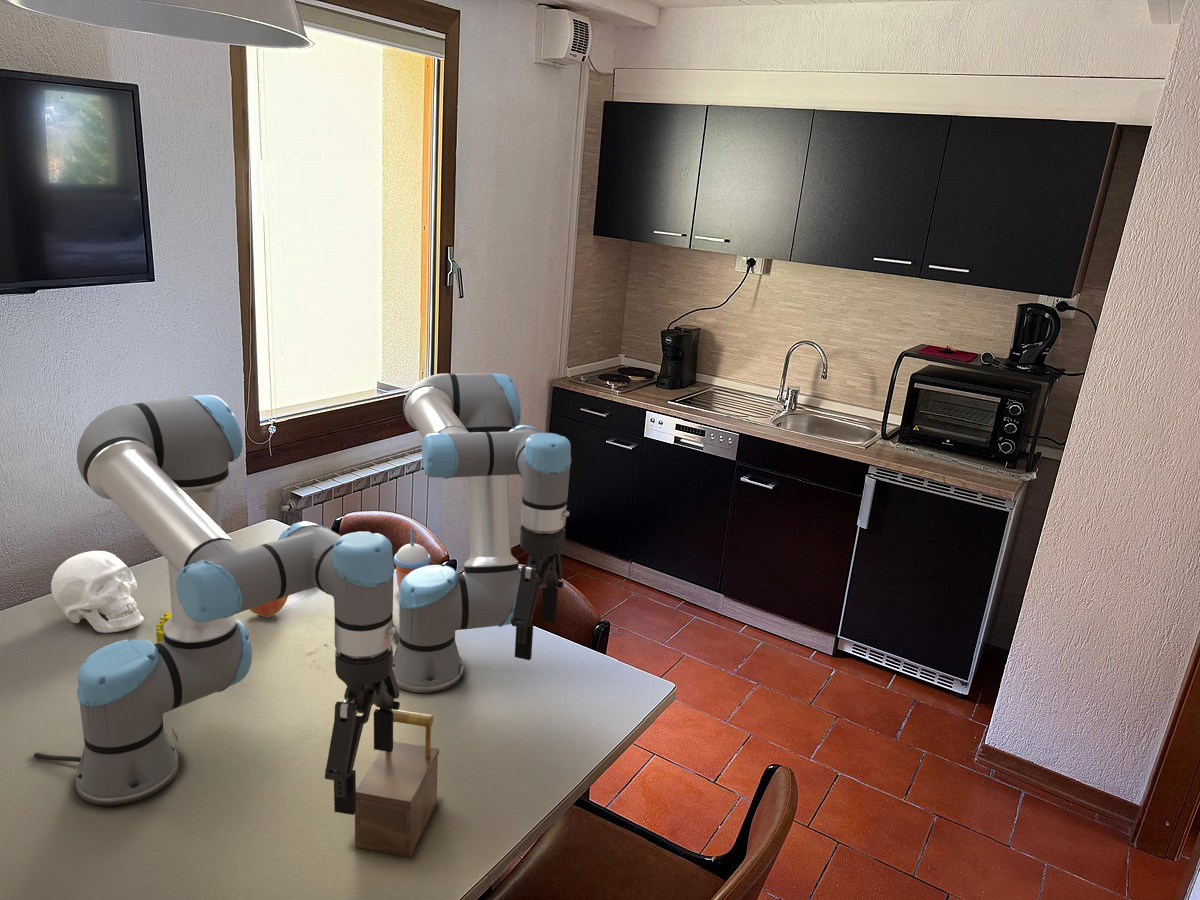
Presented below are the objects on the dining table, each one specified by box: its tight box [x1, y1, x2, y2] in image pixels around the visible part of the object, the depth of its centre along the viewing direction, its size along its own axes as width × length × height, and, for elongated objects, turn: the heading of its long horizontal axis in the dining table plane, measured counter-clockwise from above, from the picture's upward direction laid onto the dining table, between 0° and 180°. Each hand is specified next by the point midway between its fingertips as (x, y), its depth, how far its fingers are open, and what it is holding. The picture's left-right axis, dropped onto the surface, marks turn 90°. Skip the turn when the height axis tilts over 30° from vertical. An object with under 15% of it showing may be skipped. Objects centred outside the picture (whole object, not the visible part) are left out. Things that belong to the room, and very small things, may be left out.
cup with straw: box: [393, 528, 432, 594], centre depth 213 cm, size 9×9×18 cm
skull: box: [50, 550, 145, 634], centre depth 191 cm, size 13×22×16 cm, turn 73°
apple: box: [248, 596, 289, 618], centre depth 199 cm, size 10×10×10 cm
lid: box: [356, 709, 440, 807], centre depth 136 cm, size 13×9×9 cm
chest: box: [354, 756, 439, 858], centre depth 139 cm, size 13×9×9 cm
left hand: (365, 779), depth 121 cm, fingers open, 13 cm apart
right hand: (536, 638), depth 149 cm, fingers open, 13 cm apart
